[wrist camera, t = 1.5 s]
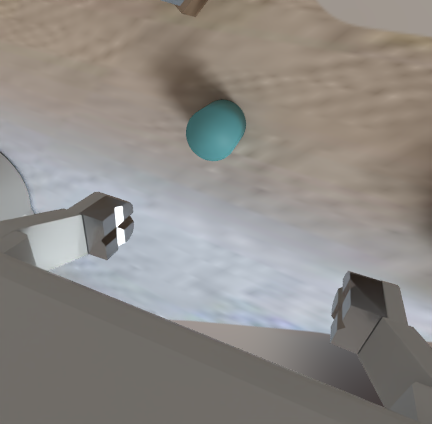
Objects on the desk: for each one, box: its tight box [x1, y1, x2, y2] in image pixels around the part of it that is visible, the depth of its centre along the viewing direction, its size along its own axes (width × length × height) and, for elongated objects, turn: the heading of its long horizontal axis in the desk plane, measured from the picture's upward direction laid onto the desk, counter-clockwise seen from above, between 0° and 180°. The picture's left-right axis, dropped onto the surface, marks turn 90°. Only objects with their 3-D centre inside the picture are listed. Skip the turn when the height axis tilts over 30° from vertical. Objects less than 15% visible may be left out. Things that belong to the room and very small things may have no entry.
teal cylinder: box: [186, 100, 246, 161], centre depth 31 cm, size 5×5×5 cm
